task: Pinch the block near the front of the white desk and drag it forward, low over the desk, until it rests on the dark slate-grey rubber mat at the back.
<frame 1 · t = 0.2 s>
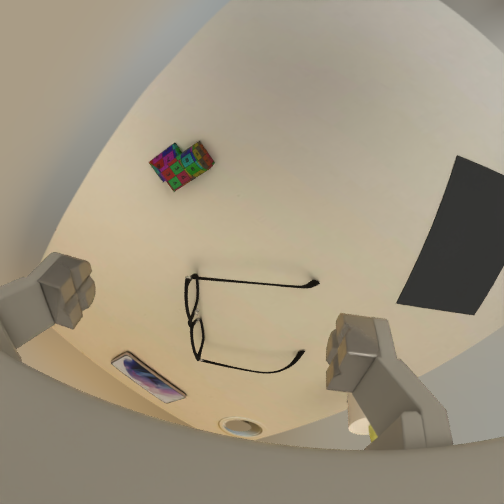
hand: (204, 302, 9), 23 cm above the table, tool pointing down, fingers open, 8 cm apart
smartphone: (149, 377, 55), on the table
block: (181, 161, 31), on the table
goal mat: (471, 248, 31), on the table
eyeglasses: (252, 312, 41), on the table
candle: (364, 367, 45), on the table
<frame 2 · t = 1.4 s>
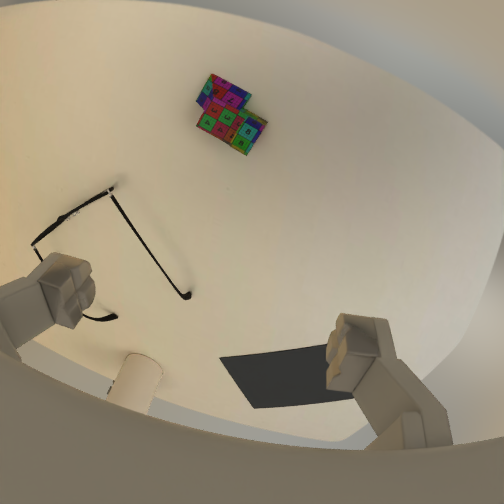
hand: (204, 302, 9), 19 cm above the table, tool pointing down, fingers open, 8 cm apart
block: (232, 110, 24), on the table
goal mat: (304, 379, 41), on the table
eyeglasses: (114, 258, 34), on the table
candle: (144, 365, 45), on the table
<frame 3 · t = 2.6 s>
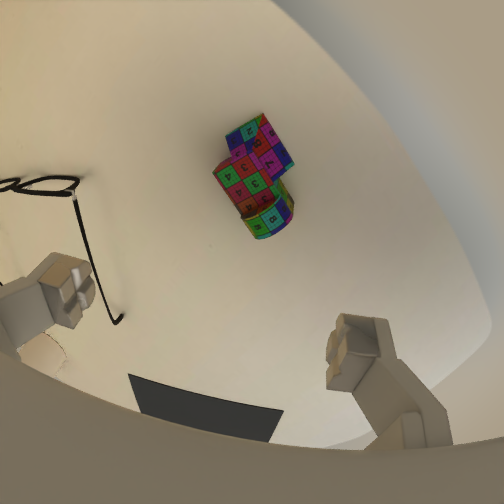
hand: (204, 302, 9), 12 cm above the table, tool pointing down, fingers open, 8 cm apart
block: (261, 168, 20), on the table
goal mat: (202, 418, 39), on the table
eyeglasses: (53, 245, 26), on the table
candle: (49, 344, 37), on the table
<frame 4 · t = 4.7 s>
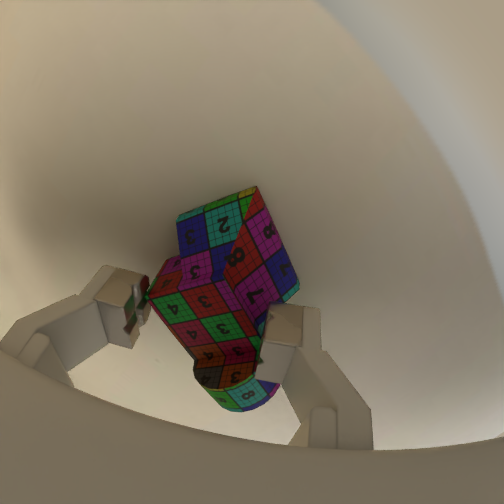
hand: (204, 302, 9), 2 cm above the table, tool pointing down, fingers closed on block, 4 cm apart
block: (238, 278, 11), on the table, touching gripper
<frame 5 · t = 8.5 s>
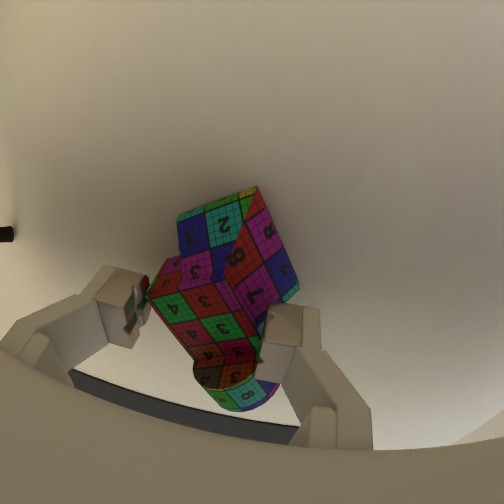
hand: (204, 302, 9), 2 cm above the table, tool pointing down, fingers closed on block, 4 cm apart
block: (238, 278, 11), point 1 cm above the table, touching gripper
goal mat: (181, 440, 22), on the table
when the fingers open (2 cm above the table, at t = 12.5 s): block stays where it is, resting on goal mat.
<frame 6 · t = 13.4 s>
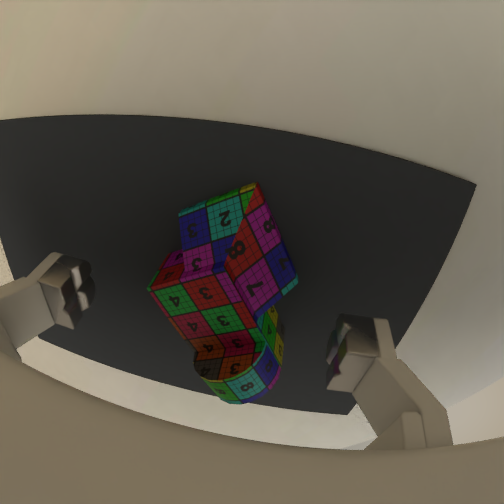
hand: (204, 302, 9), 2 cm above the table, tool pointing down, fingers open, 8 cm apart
block: (238, 272, 11), resting on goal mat
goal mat: (167, 294, 12), on the table
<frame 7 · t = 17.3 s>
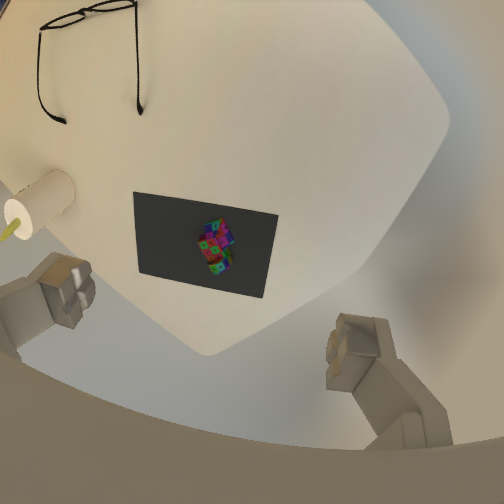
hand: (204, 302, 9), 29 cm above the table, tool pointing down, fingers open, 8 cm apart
block: (219, 239, 43), resting on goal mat
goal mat: (199, 247, 44), on the table
eyeglasses: (97, 63, 31), on the table
candle: (61, 187, 42), on the table
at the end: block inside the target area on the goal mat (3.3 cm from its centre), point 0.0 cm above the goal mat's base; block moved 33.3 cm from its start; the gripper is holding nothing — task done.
